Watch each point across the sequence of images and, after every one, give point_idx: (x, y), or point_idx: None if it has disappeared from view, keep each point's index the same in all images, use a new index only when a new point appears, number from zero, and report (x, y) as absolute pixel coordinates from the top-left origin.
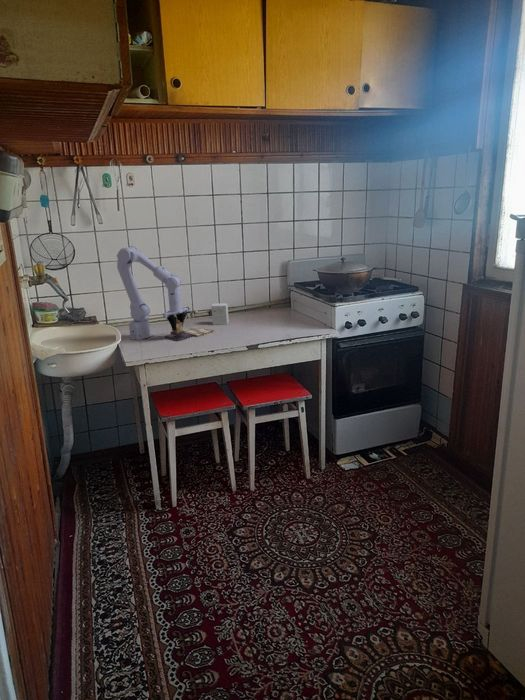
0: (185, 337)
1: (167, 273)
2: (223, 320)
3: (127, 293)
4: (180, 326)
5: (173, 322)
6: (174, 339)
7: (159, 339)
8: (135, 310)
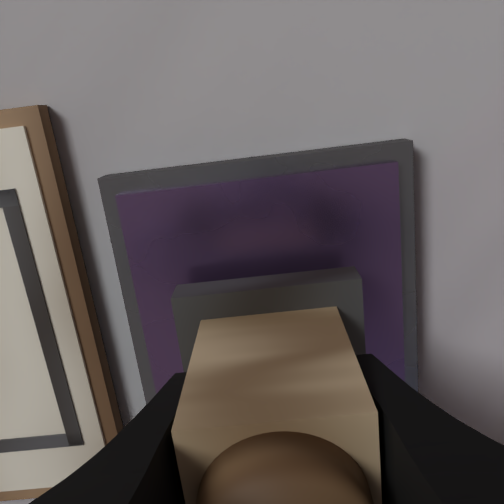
0: (255, 160)
1: None
2: None
3: None
4: (244, 368)
5: (501, 456)
6: (412, 239)
7: (498, 430)
8: None
